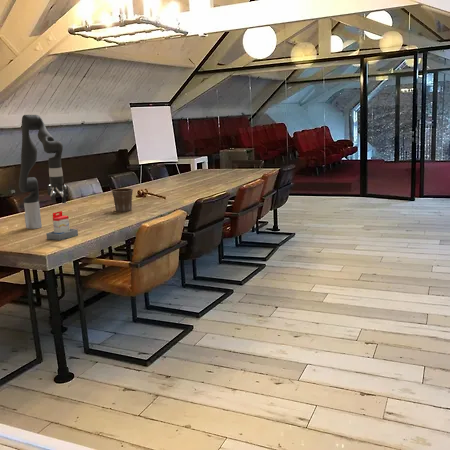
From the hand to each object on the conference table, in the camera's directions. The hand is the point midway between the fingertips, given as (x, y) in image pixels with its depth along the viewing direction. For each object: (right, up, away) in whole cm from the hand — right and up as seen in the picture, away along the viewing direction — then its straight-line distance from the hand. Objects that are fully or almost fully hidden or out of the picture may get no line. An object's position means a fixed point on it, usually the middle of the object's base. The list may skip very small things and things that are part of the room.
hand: (58, 202), depth 289 cm
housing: (+1, -20, +4) cm, 21 cm away
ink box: (+1, -20, +5) cm, 21 cm away
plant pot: (+21, -2, +86) cm, 88 cm away
